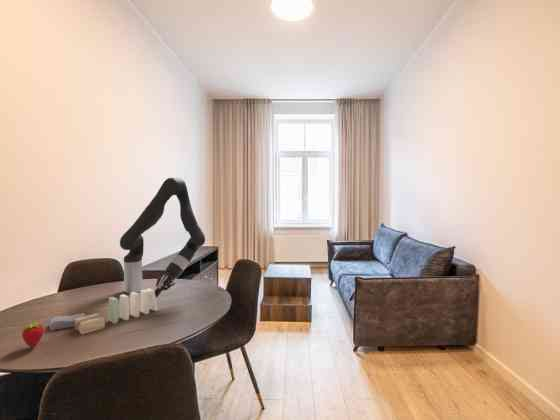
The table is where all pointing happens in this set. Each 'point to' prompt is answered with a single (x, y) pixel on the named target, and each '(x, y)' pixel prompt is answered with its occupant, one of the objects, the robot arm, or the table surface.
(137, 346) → the table surface
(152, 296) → the domino
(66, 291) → the table surface
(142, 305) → the domino
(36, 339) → the strawberry
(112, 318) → the domino
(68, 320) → the stone block
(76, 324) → the stop block
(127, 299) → the domino
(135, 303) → the domino
